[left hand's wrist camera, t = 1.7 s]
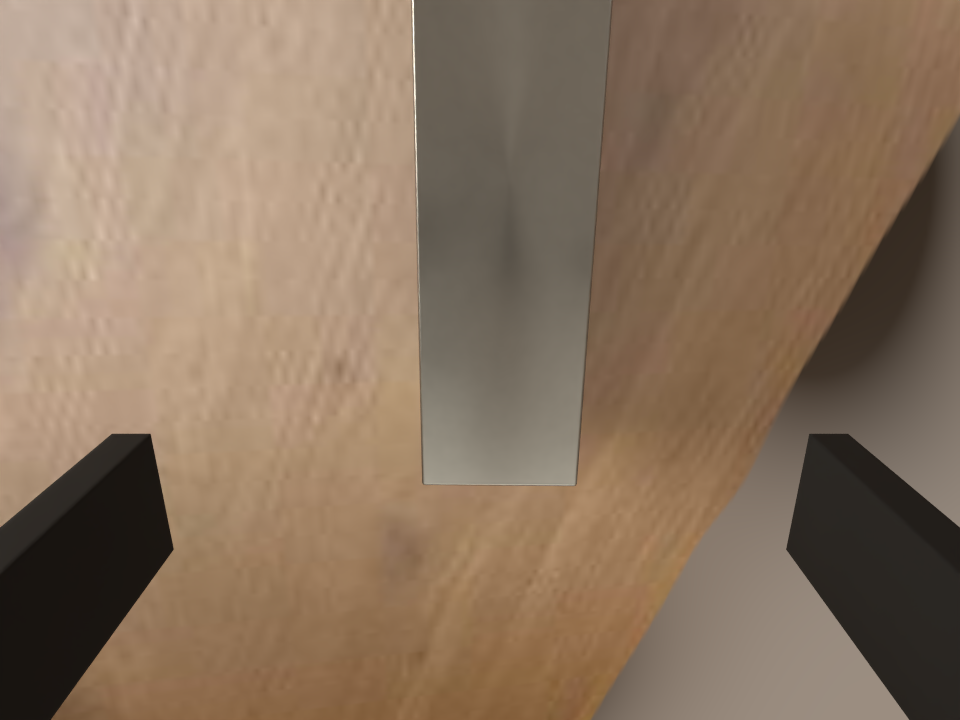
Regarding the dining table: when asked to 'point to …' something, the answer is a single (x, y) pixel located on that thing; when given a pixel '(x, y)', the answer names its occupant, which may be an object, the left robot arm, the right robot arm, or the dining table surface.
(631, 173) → the dining table surface
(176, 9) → the dining table surface
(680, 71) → the dining table surface
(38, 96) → the dining table surface
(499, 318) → the bar
